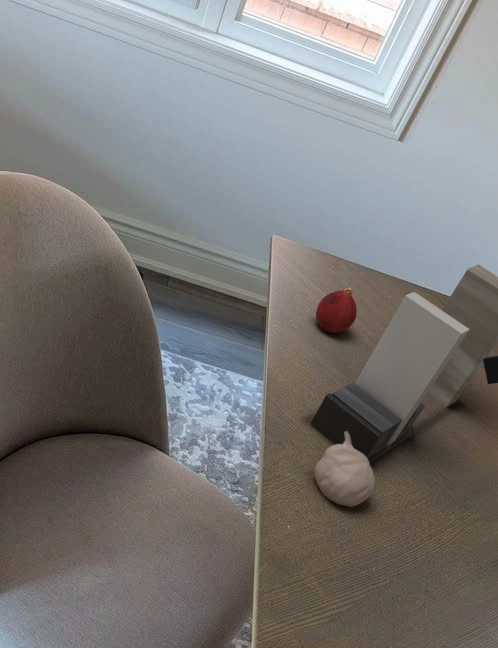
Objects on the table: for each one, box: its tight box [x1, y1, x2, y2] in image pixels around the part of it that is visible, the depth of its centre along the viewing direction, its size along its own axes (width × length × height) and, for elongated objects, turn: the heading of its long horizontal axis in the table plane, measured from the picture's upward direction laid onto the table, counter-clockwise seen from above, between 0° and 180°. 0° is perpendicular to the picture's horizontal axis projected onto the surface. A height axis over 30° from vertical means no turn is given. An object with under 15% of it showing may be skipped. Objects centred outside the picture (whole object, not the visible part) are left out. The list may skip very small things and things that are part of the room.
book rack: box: [307, 264, 498, 464], centre depth 97 cm, size 26×9×19 cm, turn 133°
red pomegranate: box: [315, 287, 358, 334], centre depth 113 cm, size 6×6×8 cm
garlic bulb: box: [313, 431, 376, 508], centre depth 87 cm, size 7×6×8 cm
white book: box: [354, 291, 470, 446], centre depth 94 cm, size 2×8×18 cm, turn 43°
